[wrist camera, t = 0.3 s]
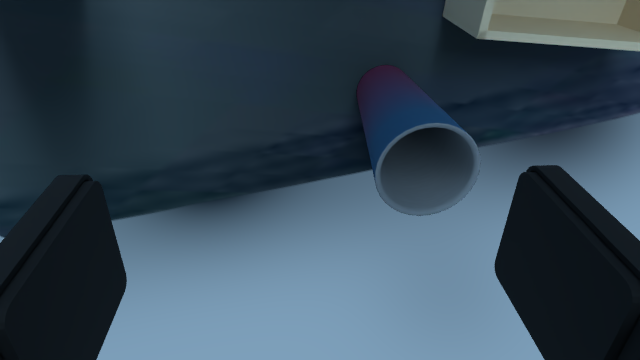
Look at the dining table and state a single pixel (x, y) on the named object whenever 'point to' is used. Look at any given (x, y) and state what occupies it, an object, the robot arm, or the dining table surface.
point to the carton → (551, 21)
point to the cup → (414, 145)
